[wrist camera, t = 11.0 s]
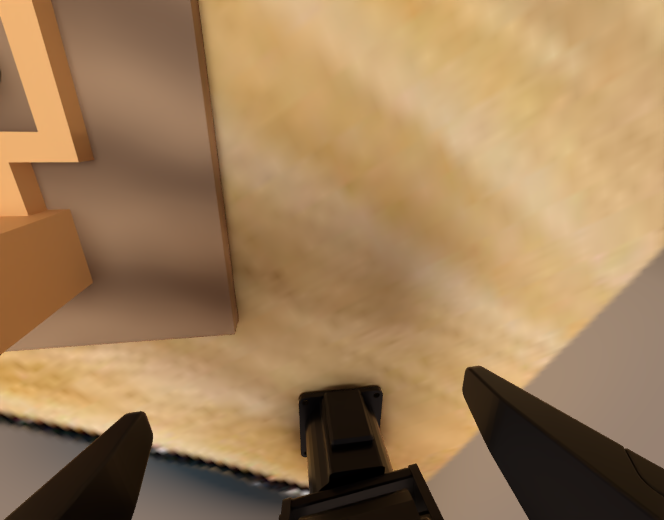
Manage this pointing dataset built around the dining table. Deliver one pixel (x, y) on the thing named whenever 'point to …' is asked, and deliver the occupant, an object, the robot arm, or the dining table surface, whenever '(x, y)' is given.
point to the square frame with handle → (21, 184)
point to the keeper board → (135, 176)
